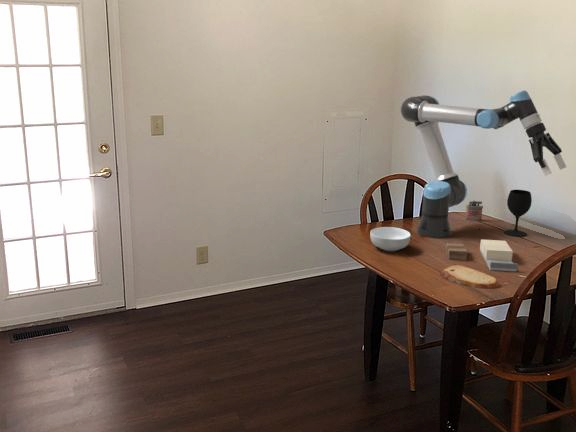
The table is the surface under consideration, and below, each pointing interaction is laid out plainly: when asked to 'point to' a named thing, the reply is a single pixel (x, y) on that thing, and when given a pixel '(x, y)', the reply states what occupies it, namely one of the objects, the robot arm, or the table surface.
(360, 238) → the table surface
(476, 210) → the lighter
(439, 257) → the table surface
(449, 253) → the tan brown block
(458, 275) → the bread slice
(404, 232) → the cereal bowl
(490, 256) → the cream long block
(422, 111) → the robot arm
